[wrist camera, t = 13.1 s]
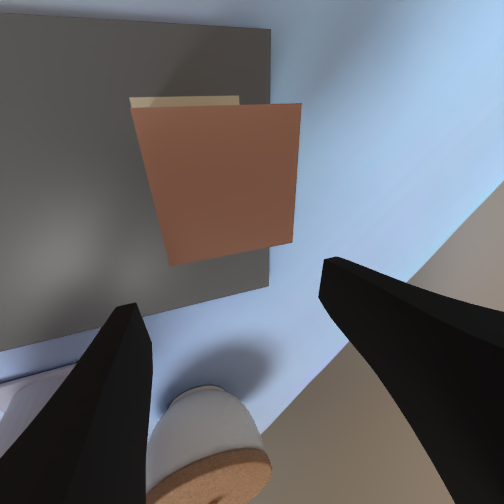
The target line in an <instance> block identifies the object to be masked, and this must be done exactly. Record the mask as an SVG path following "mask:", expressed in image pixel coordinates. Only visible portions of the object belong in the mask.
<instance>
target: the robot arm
mask: <svg viewBox="0 0 504 504" xmlns="http://www.w3.org/2000/svg"><path fill="white" fill-rule="evenodd" d="M318 298H319V299H320V301H321V303H322V304H323V306H324V308H325V309H326V311H327V312H328V314H329V316H330V317H331V318H332V320H333V321H334V322H335V324H336V325H337V326H338V327H339V328H340V330H341V331H342V332H343V333H344V335H345V336H346V337H347V338H348V339H349V341H350V342H351V343H352V344H353V346H354V347H355V348H356V349H357V350H358V352H359V353H360V354H361V355H362V356H363V357H364V359H365V360H366V361H367V362H368V364H369V365H370V366H371V368H372V369H373V370H374V372H375V373H376V374H377V375H378V377H379V379H380V380H381V381H382V383H383V384H384V386H385V387H386V389H387V390H388V392H389V393H390V395H391V396H392V398H393V399H394V401H395V402H396V404H397V405H398V407H399V408H400V410H401V412H402V413H403V415H404V416H405V418H406V419H407V421H408V422H409V424H410V426H411V427H412V429H413V431H414V432H415V434H416V436H417V437H418V439H419V440H420V442H421V444H422V446H423V447H424V449H425V450H426V452H427V454H428V456H429V457H430V459H431V461H432V462H433V464H434V466H435V468H436V470H437V471H438V473H439V475H440V477H441V479H442V480H443V482H444V484H445V486H446V487H447V489H448V491H449V493H450V495H451V496H452V498H453V500H454V502H455V504H504V312H502V311H498V310H493V309H490V308H485V307H482V306H478V305H474V304H470V303H467V302H463V301H460V300H456V299H453V298H450V297H446V296H443V295H440V294H437V293H434V292H430V291H428V290H425V289H422V288H419V287H416V286H413V285H411V284H407V283H405V282H402V281H400V280H397V279H395V278H392V277H389V276H387V275H384V274H382V273H379V272H377V271H374V270H372V269H369V268H367V267H364V266H362V265H359V264H357V263H354V262H351V261H349V260H346V259H343V258H340V257H332V258H328V259H324V263H323V269H322V276H321V283H320V289H319V296H318ZM152 376H153V361H152V342H151V340H150V337H149V334H148V332H147V329H146V327H145V324H144V321H143V319H142V316H141V313H140V311H139V308H138V306H137V303H136V302H135V303H130V304H126V305H121V306H117V307H116V308H115V309H114V310H113V312H112V313H111V315H110V316H109V318H108V319H107V321H106V322H105V323H104V325H103V326H102V328H101V329H100V331H99V332H98V334H97V335H96V337H95V338H94V340H93V341H92V343H91V344H90V346H89V347H88V348H87V350H86V351H85V353H84V354H83V355H82V357H81V358H80V360H79V361H78V362H77V363H76V364H72V365H68V366H65V367H61V368H57V369H54V370H50V371H46V372H43V373H39V374H35V375H32V376H28V377H24V378H21V379H17V380H13V381H10V382H6V383H3V384H0V410H1V411H3V412H4V413H5V414H4V415H3V417H2V419H1V421H0V504H146V451H147V437H148V425H149V414H150V402H151V389H152Z"/></svg>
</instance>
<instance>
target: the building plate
mask: <svg viewBox="0 0 504 504" xmlns="http://www.w3.org/2000/svg"><path fill="white" fill-rule="evenodd" d="M270 56H271V29H258V28H242V27H225V26H209V25H192V24H176V23H160V22H143V21H127V20H110V19H94V18H77V17H61V16H44V15H28V14H11V13H0V352H1V351H5V350H9V349H13V348H18V347H22V346H26V345H30V344H34V343H38V342H42V341H46V340H50V339H54V338H59V337H63V336H67V335H71V334H75V333H79V332H83V331H87V330H91V329H95V328H99V327H102V326H103V325H104V323H105V322H106V321H107V319H108V318H109V316H110V315H111V313H112V312H113V310H114V309H115V308H116V307H117V306H121V305H126V304H130V303H135V302H136V303H137V306H138V308H139V311H140V313H141V316H142V317H144V316H149V315H153V314H157V313H161V312H165V311H169V310H173V309H177V308H181V307H185V306H190V305H194V304H198V303H202V302H206V301H210V300H214V299H218V298H222V297H226V296H230V295H235V294H239V293H243V292H247V291H251V290H255V289H259V288H263V287H267V286H269V247H267V248H262V249H257V250H252V251H247V252H242V253H237V254H232V255H227V256H222V257H216V258H211V259H206V260H201V261H196V262H191V263H186V264H181V265H176V266H171V267H170V264H169V260H168V256H167V253H166V249H165V245H164V241H163V237H162V233H161V229H160V225H159V221H158V217H157V213H156V209H155V205H154V201H153V197H152V193H151V189H150V185H149V181H148V177H147V173H146V169H145V166H144V162H143V158H142V154H141V150H140V146H139V142H138V138H137V134H136V130H135V126H134V122H133V118H132V114H131V110H130V108H143V107H180V106H218V105H256V104H270Z"/></svg>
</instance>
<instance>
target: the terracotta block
mask: <svg viewBox="0 0 504 504" xmlns="http://www.w3.org/2000/svg"><path fill="white" fill-rule="evenodd" d="M301 105H302V103H294V104H256V105H218V106H180V107H143V108H130V110H131V114H132V118H133V122H134V126H135V130H136V134H137V138H138V142H139V146H140V150H141V154H142V158H143V162H144V166H145V169H146V173H147V177H148V181H149V185H150V189H151V193H152V197H153V201H154V205H155V209H156V213H157V217H158V221H159V225H160V229H161V233H162V237H163V241H164V245H165V249H166V253H167V256H168V260H169V264H170V267H171V266H176V265H181V264H186V263H191V262H196V261H201V260H206V259H211V258H216V257H222V256H227V255H232V254H237V253H242V252H247V251H252V250H257V249H262V248H267V247H272V246H277V245H283V244H288V243H292V239H293V224H294V209H295V194H296V179H297V165H298V150H299V135H300V120H301Z"/></svg>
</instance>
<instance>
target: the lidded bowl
mask: <svg viewBox="0 0 504 504" xmlns="http://www.w3.org/2000/svg"><path fill="white" fill-rule="evenodd" d="M271 475H272V466H271V463H270V460H269V457H268V455H267V454H266V452H265V449H264V446H263V442H262V440H261V437H260V434H259V431H258V429H257V426H256V424H255V422H254V420H253V418H252V416H251V414H250V413H249V411H248V410H247V408H246V407H245V406H244V404H243V403H242V402H241V401H240V400H239V399H237V398H236V397H235V396H233V395H231V394H230V393H227V392H225V391H224V389H222V388H221V387H218V386H214V385H205V386H199V387H195V388H192V389H190V390H187V391H185V392H183V393H182V394H180V395H179V396H177V397H176V398H175V399H174V400H173V401H172V402H171V404H170V405H169V407H168V410H167V411H166V412H165V413H164V414H163V416H162V417H161V418H160V420H159V421H158V422H157V424H156V426H155V428H154V430H153V432H152V434H151V437H150V439H149V442H148V444H147V451H146V504H245V503H247V502H248V501H249V500H251V499H252V498H253V497H254V496H256V495H257V494H258V493H259V492H260V491H261V490H262V489H263V488H264V487H265V485H266V484H267V483H268V481H269V480H270V478H271Z"/></svg>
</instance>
